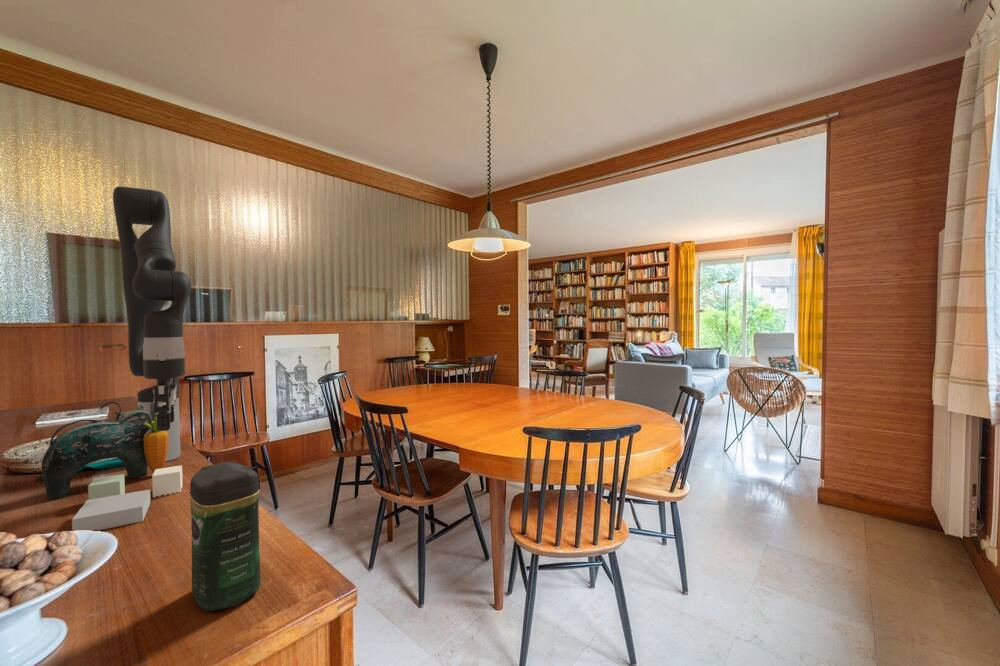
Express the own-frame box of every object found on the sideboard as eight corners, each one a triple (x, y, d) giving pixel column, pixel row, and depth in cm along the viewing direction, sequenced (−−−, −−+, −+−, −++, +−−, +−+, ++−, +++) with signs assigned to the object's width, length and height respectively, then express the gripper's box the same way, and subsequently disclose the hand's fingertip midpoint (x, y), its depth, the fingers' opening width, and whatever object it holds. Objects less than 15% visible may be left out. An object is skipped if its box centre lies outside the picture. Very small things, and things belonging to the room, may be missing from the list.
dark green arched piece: (147, 470, 112) (145, 395, 111) (159, 474, 109) (156, 397, 108) (39, 498, 94) (36, 409, 93) (50, 504, 91) (47, 412, 90)
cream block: (155, 490, 99) (155, 469, 98) (182, 485, 101) (181, 465, 101) (152, 497, 94) (152, 475, 94) (180, 492, 97) (180, 471, 97)
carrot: (158, 479, 105) (157, 419, 105) (139, 479, 105) (137, 419, 105) (174, 472, 110) (172, 415, 110) (155, 471, 110) (154, 415, 110)
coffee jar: (268, 593, 61) (266, 467, 61) (204, 622, 55) (201, 483, 55) (246, 567, 68) (243, 453, 67) (186, 591, 62) (183, 466, 61)
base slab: (87, 514, 86) (87, 500, 86) (150, 502, 91) (150, 489, 91) (72, 535, 78) (72, 519, 78) (142, 521, 83) (142, 506, 83)
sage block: (95, 500, 93) (94, 478, 93) (124, 495, 96) (124, 474, 95) (88, 509, 89) (88, 486, 88) (120, 503, 91) (119, 481, 91)
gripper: (148, 355, 101) (150, 422, 101) (137, 359, 89) (139, 435, 89) (187, 354, 105) (188, 418, 105) (182, 358, 93) (183, 430, 93)
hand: (166, 426), depth 97 cm, fingers open, 8 cm apart
